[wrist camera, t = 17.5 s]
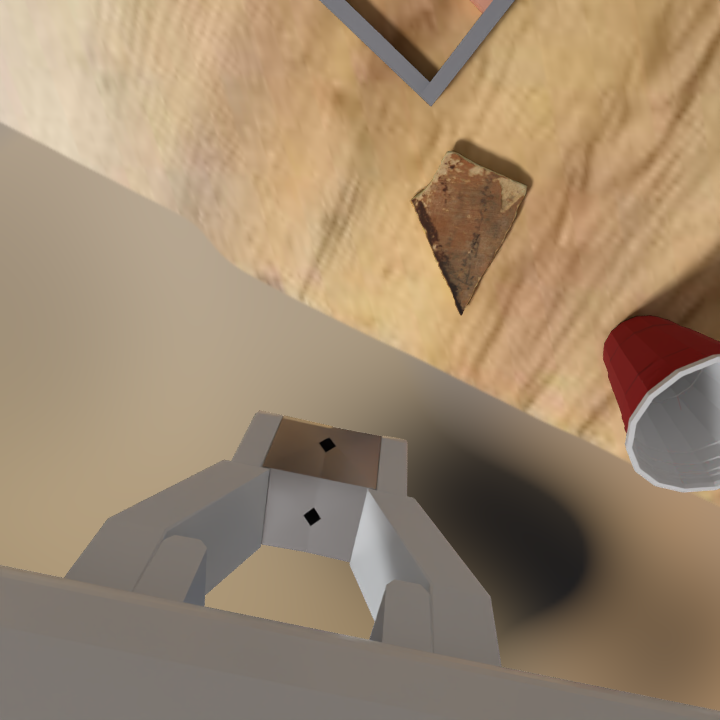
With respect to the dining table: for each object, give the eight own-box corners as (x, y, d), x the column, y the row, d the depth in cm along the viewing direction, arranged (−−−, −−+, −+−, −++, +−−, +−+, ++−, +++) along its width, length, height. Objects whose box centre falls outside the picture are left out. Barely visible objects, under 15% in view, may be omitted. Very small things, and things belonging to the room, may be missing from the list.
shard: (459, 309, 42) (461, 317, 40) (376, 273, 41) (375, 280, 39) (528, 185, 37) (534, 188, 35) (435, 141, 36) (436, 143, 34)
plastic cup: (647, 421, 44) (721, 521, 34) (546, 369, 43) (590, 457, 32) (743, 324, 39) (865, 405, 29) (633, 261, 38) (718, 323, 27)
